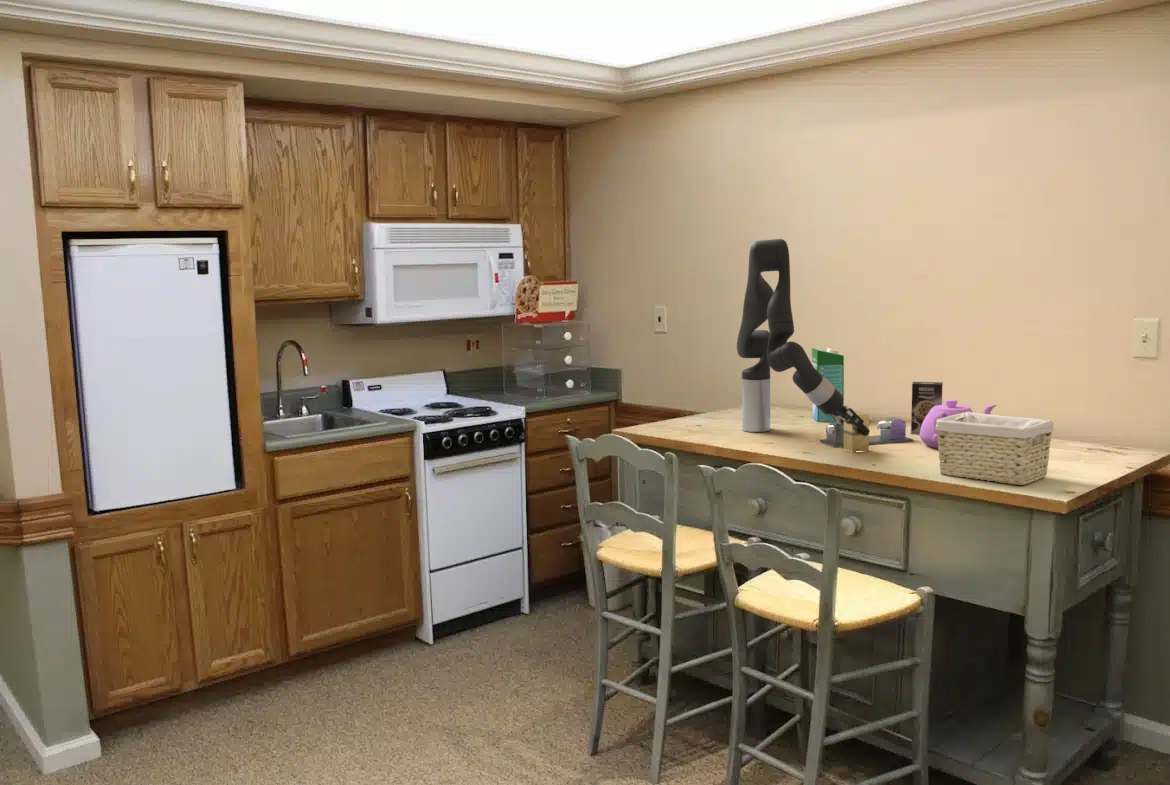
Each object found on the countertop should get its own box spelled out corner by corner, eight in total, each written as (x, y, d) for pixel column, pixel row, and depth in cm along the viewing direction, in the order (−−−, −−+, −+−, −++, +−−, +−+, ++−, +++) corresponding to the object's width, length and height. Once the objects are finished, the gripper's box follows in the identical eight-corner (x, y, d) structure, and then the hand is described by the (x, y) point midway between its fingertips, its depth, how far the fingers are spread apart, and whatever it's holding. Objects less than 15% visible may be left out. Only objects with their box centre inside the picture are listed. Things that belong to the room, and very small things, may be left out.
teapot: (982, 457, 264) (983, 408, 262) (906, 449, 278) (906, 402, 277) (1009, 445, 280) (1011, 398, 278) (937, 437, 294) (937, 393, 293)
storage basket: (931, 474, 246) (932, 418, 244) (963, 464, 256) (964, 410, 254) (1024, 489, 228) (1026, 428, 226) (1054, 477, 238) (1056, 419, 236)
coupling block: (852, 453, 276) (852, 415, 274) (843, 449, 281) (843, 412, 279) (868, 451, 277) (869, 414, 275) (859, 448, 282) (860, 411, 280)
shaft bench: (833, 447, 284) (833, 425, 283) (819, 442, 293) (819, 421, 292) (912, 441, 290) (912, 420, 289) (896, 436, 298) (897, 415, 297)
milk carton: (843, 421, 329) (844, 349, 326) (817, 421, 330) (817, 349, 326) (837, 417, 338) (837, 346, 335) (811, 417, 338) (811, 347, 335)
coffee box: (910, 434, 302) (911, 383, 300) (911, 430, 308) (912, 381, 305) (941, 435, 298) (942, 384, 296) (941, 431, 304) (942, 381, 302)
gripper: (843, 388, 268) (880, 425, 271) (821, 382, 281) (856, 418, 285) (826, 407, 267) (863, 445, 271) (804, 401, 281) (840, 437, 285)
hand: (859, 431), depth 278 cm, fingers open, 8 cm apart
